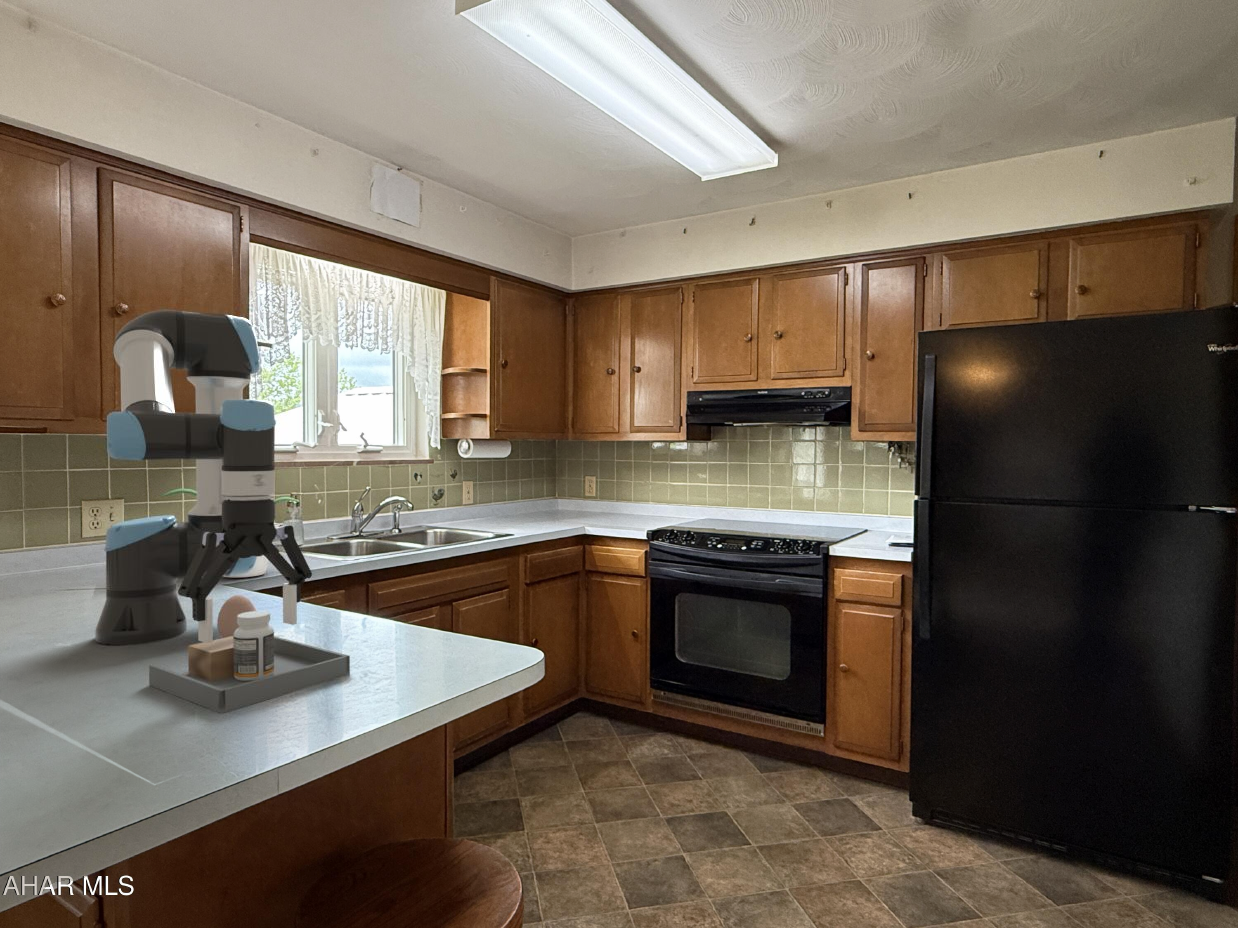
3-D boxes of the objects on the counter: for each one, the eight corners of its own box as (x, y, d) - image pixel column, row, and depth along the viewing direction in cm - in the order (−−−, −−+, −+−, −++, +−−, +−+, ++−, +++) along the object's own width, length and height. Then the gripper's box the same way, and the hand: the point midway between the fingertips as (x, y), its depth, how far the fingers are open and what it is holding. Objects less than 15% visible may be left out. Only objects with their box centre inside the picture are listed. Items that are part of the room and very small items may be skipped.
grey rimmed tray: (149, 684, 112) (149, 665, 112) (275, 653, 129) (275, 636, 129) (221, 713, 100) (220, 690, 100) (349, 674, 118) (349, 655, 117)
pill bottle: (261, 668, 119) (261, 608, 118) (281, 675, 115) (281, 613, 115) (226, 677, 114) (226, 614, 114) (245, 684, 111) (245, 619, 110)
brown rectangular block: (188, 673, 116) (188, 645, 116) (249, 658, 124) (249, 632, 124) (211, 681, 112) (211, 652, 112) (273, 665, 120) (272, 638, 120)
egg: (209, 648, 132) (209, 598, 132) (229, 638, 139) (229, 591, 139) (246, 648, 132) (245, 599, 132) (264, 639, 139) (263, 591, 139)
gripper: (176, 504, 102) (177, 654, 102) (333, 494, 123) (333, 619, 123) (151, 501, 106) (152, 645, 107) (306, 492, 127) (307, 613, 127)
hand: (249, 632), depth 115 cm, fingers open, 13 cm apart
